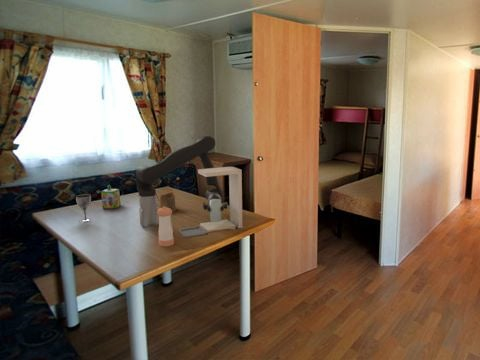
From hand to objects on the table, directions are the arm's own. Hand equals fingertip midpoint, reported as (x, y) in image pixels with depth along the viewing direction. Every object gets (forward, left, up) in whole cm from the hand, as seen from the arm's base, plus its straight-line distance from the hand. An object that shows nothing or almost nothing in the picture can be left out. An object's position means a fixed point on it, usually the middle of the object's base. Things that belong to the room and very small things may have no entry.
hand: (215, 209), depth 188 cm
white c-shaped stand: (+3, +2, -11) cm, 12 cm away
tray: (-13, -1, -11) cm, 17 cm away
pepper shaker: (-29, -10, -11) cm, 33 cm away
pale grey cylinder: (+1, +2, -6) cm, 7 cm away
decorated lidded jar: (-45, +75, -11) cm, 89 cm away
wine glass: (-62, +50, -11) cm, 81 cm away
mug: (-16, +50, -11) cm, 54 cm away
